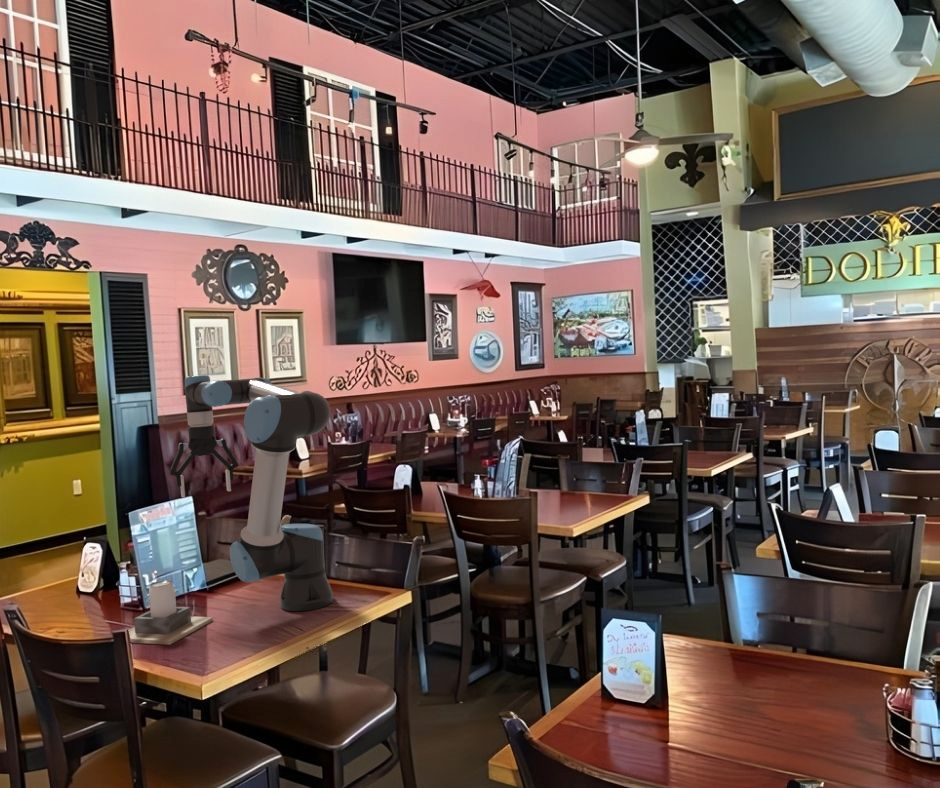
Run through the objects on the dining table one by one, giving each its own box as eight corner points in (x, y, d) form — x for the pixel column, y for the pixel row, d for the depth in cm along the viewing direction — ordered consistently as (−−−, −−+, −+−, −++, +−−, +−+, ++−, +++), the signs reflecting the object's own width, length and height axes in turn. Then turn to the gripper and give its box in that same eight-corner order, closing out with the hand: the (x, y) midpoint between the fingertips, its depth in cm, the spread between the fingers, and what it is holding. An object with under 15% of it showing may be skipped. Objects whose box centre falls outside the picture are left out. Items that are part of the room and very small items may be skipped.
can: (181, 622, 211) (178, 579, 210) (171, 630, 204) (167, 586, 204) (158, 623, 211) (155, 580, 211) (147, 631, 205) (143, 587, 204)
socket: (212, 620, 214) (211, 603, 213) (169, 644, 196) (168, 625, 196) (158, 618, 219) (157, 601, 219) (112, 641, 202) (110, 622, 201)
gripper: (239, 421, 246) (244, 487, 247) (156, 428, 234) (161, 497, 235) (244, 422, 239) (249, 489, 240) (159, 430, 228) (164, 501, 228)
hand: (206, 494), depth 238 cm, fingers open, 13 cm apart
